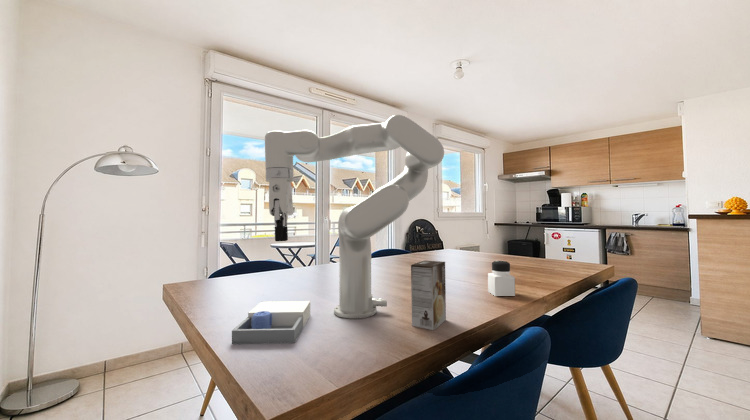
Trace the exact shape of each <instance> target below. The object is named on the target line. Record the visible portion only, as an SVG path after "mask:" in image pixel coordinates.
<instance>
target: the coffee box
mask: <svg viewBox="0 0 750 420" xmlns="http://www.w3.org/2000/svg"><path fill="white" fill-rule="evenodd" d="M410 278H411V279H410V280H411V282H410V283H411V288H410V289H411V292H410V293H411V294H410V295H411V296H410V297H411V326H412V327H415V328H421V329H425V330H430V331H436V329H437V328H438V327H439V326H441V325H442V324H443V323H444V322H446V320H447V302H446V300H447V299H446V296H447V295H446V293H447V291H446V289H447V288H446V261H438V260H427V259H426V260H422V261H418V262H416V263H415V262H414V263H412V264H411V265H410Z"/></svg>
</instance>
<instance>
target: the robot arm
mask: <svg viewBox="0 0 750 420" xmlns="http://www.w3.org/2000/svg"><path fill="white" fill-rule="evenodd" d="M398 148H399V149H400V148H401V149H404V151H406V154H405V159H404V169H403V171H402V172H401V173H400V174H399V175H397V176H396V177H395V178H393V179H392V180H389V182H387V183H386V184H384V185H382V186H380V187H377V188H376V189H375V190H374V191H373V192H372V194H370V195H369V196H368V197H366V198H365V199H363V200H361V201H360V202H358V203H357V204H355V205H352V206H347V207H346V208H344V209H343V211H342V212H340V215H339V217H338V222H337V225H338V226H337V229H338V231H337V232H338V245H339V246H338V248H339V251H338V252H339V257H338V259H339V261H338V262H339V263H338V264H339V269H338V270H339V271H338V272H339V273H338V276H339V277H338V278H339V281H338V282H339V287H338V288H339V289H338V291H339V304H338V305H336V306H335V307H334V310H333V312H334V315H336V317H339V318H344V319H364V318H369V317H372V316H374V315H375V314H377V312H378V311H377V307H388V301H387V299H383V298H375V297H373V294H372V243H371V241H372V240H371V237H373V236H374V235H376V234H377V233H379V232H381V231H382V230H384V229H385V228H387V227H388V226H389V225H390V224H392V223H393V222H394V221H395V222H396V220H397V219H399V218H400V217H402V216H403V215H404V214H405V213H406V211H407V210H408V207H409V205H410V202H411V201H412V200H413V199H414V198H416V197H417V196H418V195H420V194H421V193H422V192H423V190H424V189H425V188H426V185H427V182H428V176H429V169H431V168H434V167H437V166H438V165H440V163H442V161H443V159H444V155H445V149H444V146H443V144H442V142H441V141H440V140H439V139H438V138H437V137H435V136H434V135H433V134H431V133H430V132H429V131H427V130H426V129H424V128H423V127H422V126H421V125H420V124H418V123H417V122H415V121H414V120H412V119H410V118H409V117H407V116H405V115H403V114H395V115H392V116H390V117H389V118H388V119H387V120H386V121H385V122H376V123H366V124H357V125H355V124H354V125H350V126H347V127H346V128H344V129H343V130H341V131H339V132H337V133H334V134H331V135H327V136H322V137H320V136H319V135H317V133H316V132H315V131H312V130H309V129H302V130H301V129H300V130H292V131H283V130H271V131H268V132H266V134H265V136H264V158H265V162H264V163H265V182H268V210H269V215H271V216H273V219H274V220H273V221H274V222H273V223H274V241H275V242H287V241H288V240H289V236H288V235H289V233H288V231H289V230H288V216H293V214H294V205H293V204H294V203H293V201H294V200H293V192H292V190H293V189H292V184H291V183H292V182H294V181H295V179H294V178H295V177H294V156H295V157H296V159H298V160H299V161H300V162H302V163H316V162H324V161H330V160H331V161H332V160H336V159H340V158H341V159H342V158H346V157H351V156H355V155H362V154H371V153H379V152H387V151H393V150H396V149H398Z"/></svg>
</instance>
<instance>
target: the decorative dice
mask: <svg viewBox="0 0 750 420" xmlns="http://www.w3.org/2000/svg"><path fill="white" fill-rule="evenodd" d="M271 325H272V314H271V313H270V312H269V311H260V312H256V313H255V314H254V315H253V317H252V323H251V326H252V329H271Z"/></svg>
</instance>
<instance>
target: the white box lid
mask: <svg viewBox="0 0 750 420" xmlns="http://www.w3.org/2000/svg"><path fill="white" fill-rule="evenodd" d="M260 311H269V312H270V313H271V314H272V325H271V326H294V324H295V323H296V321H297V320H298V318H299V317H300V316H303V328H304V327H305V325H306V323H307V322H308V320H309V318H310V317H311V300H303V301H302V300H296V301H295V300H294V301H291V300H290V301H281V300H280V301H278V300H277V301H261V302H259V303H258V304H257V305H255V307H253V308H252V309H251V310H250V311H249V312H247V317H251V323H252V317H253V315H254V314H255V313H256V312H260Z"/></svg>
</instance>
